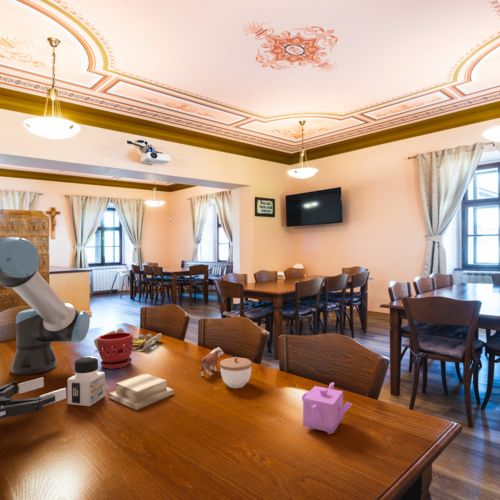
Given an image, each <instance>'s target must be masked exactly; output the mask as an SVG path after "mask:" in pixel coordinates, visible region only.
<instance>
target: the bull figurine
mask: <svg viewBox="0 0 500 500" xmlns="http://www.w3.org/2000/svg"><path fill="white" fill-rule="evenodd" d="M221 355H224V351H223V349H222V348H220V347H215V348H213V350H212V351H210V352H209V353H208V354H206V355H204V357H202V359H200V365H201V369H200V373H201V374H200V377H204V371H205V372H206V374H208V375H209V376H213V373H212V372H211V370H213V371H214V372H218V370H217V366H218V363H219V357H220V356H221ZM213 366H214V368H213Z"/></svg>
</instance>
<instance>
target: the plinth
mask: <svg viewBox="0 0 500 500" xmlns="http://www.w3.org/2000/svg"><path fill="white" fill-rule="evenodd" d="M167 384H168V380H166V379H164V378H161V377H157V376H155V375H152V374H149V373H146V372H145V373H141V374H139V375H135V376H133V377H130V378H126V379H124V380H122V381H118V382H116V383H115V390H114V391H111V392H108V399H111V400H114V401H115V402H117V403H119V404H122V405H123V406H126V407H129V408H131V409H132V410H135V411H138V410H140V409H142V408H145V407H147V406H149V405H152V404H154V403H157V402H158V401H161V400H163V399H165V398H168V397H170V396H172V395H174V389H173V388H170V387H168V385H167Z"/></svg>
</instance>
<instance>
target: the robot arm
mask: <svg viewBox="0 0 500 500" xmlns="http://www.w3.org/2000/svg"><path fill="white" fill-rule="evenodd" d="M38 255H39V251H38V249H37V247H36V246H35V244H33V243H32V242H31V241H30V240H28V239H26V238H23V237H15V236H7V237H5V236H4V237H3V236H2V237H0V285H1V287H4V288H6V289H13V291H14V292H15V293H16V294H17V295H18V296H19V297H20V298H21V299H22V300H23V301H25V303H26V304H28V305H29V307H30V308H29V309H25V310H22V311H19V312H18V313H17V314H16V316H15V318H16V319H15V339H16V340H15V342H16V345H15V347H16V350H15V354H14V357H13V359H12V363H11V365H10V370H11V371H10V372H11V374H14V375H21V376H23V375H24V376H25V375H36V374H40V373H43V372H47V371H51V370H52V369H54V368H56V367H57V356H56V354H55V352H54V349H53V346H52V343H72V344H73V343H80V342H82V341H83V340H84V339H85V338H86V337H87V335H88V332H89V329H90V315H89V313H88V312H87V311H84V310H79V311H78V310H77V309H76V308H75V306H74V305H72V304H70V303H67V302H64V301H63V300H62V298H61V297H60V296H59V295H58V294H57V292H56V291H55V290H54V289H53V288H52V287H51V285H49V283H48V282H47V281H46V280H45V278H44V277H43V276H42V275H41V274H40V272H39V266H40V265H39V264H40V256H38ZM44 380H45V378H44V377H43V376H41V377H38V378H34V379H31V380H27V381H23V382H21V383H18V381H15V380H14V381H12V382H8V383H6V384H5V385H2V386H0V420H2V419H6V418H10V417H15V416H22V415H27V414H33V413H38V412H42V411H43V407H44V406H47V405H50V404H53V403H57V402H60V401H62V400H65V399H67V388H66V387H64V388H59V389H57V390H53V391H50V392H48V393H44V394H40V395H39V397H31V398H20V399H19V398H18V399H14V398H12V397H13V396H15V395H17V394H19V395H20V394H25V393H27V392H30V391H35V390H38V389H41V388H44V387H45V386H44V385H45V381H44Z"/></svg>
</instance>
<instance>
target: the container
mask: <svg viewBox="0 0 500 500" xmlns="http://www.w3.org/2000/svg"><path fill="white" fill-rule="evenodd" d="M66 382H67V404H68V405H71V406H72V405H74V406H85V407H91V406H92V405H94V404H96V403H97V402H98V401H100V400H101V399H103V398H104V397H105V396H106V373H105V371H99V358H98V357H96V356H92V355H89V356H88V355H87V356H81V357H79V358H78V359H75V360H74V375H73V376H70V377H68V379H67V380H66Z"/></svg>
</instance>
